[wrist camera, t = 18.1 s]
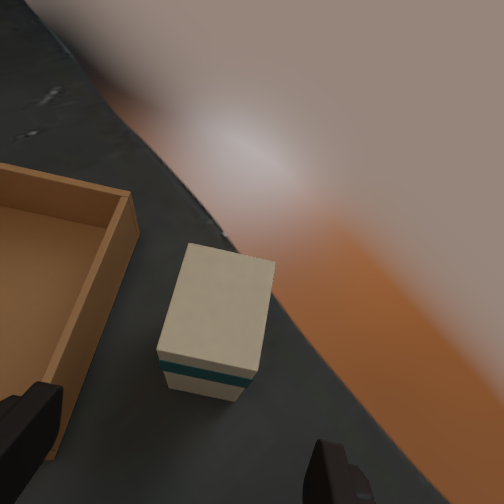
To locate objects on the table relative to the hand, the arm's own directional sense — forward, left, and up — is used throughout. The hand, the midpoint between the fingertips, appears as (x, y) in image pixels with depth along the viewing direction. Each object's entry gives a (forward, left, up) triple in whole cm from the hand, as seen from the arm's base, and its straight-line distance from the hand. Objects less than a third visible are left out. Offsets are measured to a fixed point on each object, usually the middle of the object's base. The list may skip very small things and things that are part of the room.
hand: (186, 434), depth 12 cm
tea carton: (+2, +6, -14) cm, 15 cm away
